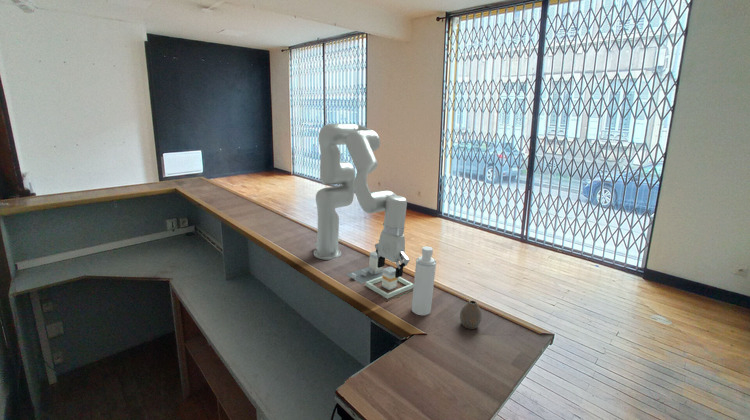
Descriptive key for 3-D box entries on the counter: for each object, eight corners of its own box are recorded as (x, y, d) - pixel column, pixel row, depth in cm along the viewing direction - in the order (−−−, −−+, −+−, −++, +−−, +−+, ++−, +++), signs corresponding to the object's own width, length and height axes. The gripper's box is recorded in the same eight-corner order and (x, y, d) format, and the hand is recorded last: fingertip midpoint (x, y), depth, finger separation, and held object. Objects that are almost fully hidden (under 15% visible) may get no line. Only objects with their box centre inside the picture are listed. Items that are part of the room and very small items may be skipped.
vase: (456, 327, 123) (459, 303, 120) (462, 317, 128) (465, 294, 126) (476, 334, 119) (480, 310, 117) (482, 324, 125) (486, 300, 123)
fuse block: (345, 277, 151) (345, 269, 150) (372, 268, 161) (373, 261, 160) (360, 287, 144) (361, 279, 143) (388, 277, 154) (389, 269, 153)
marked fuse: (381, 287, 144) (382, 268, 142) (389, 285, 146) (390, 266, 144) (388, 292, 141) (390, 272, 139) (396, 289, 144) (398, 270, 141)
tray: (365, 289, 143) (365, 282, 143) (391, 279, 153) (391, 272, 152) (386, 302, 135) (387, 294, 134) (413, 291, 144) (413, 284, 143)
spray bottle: (434, 313, 130) (442, 246, 123) (417, 317, 127) (424, 248, 120) (424, 304, 135) (431, 239, 128) (408, 307, 133) (414, 241, 126)
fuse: (368, 270, 156) (369, 252, 153) (375, 268, 158) (377, 250, 156) (375, 274, 153) (376, 256, 150) (382, 271, 155) (383, 254, 153)
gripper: (370, 224, 140) (367, 265, 146) (403, 239, 128) (398, 283, 134) (384, 220, 145) (381, 261, 151) (418, 235, 133) (413, 278, 139)
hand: (389, 271), depth 142 cm, fingers open, 9 cm apart
